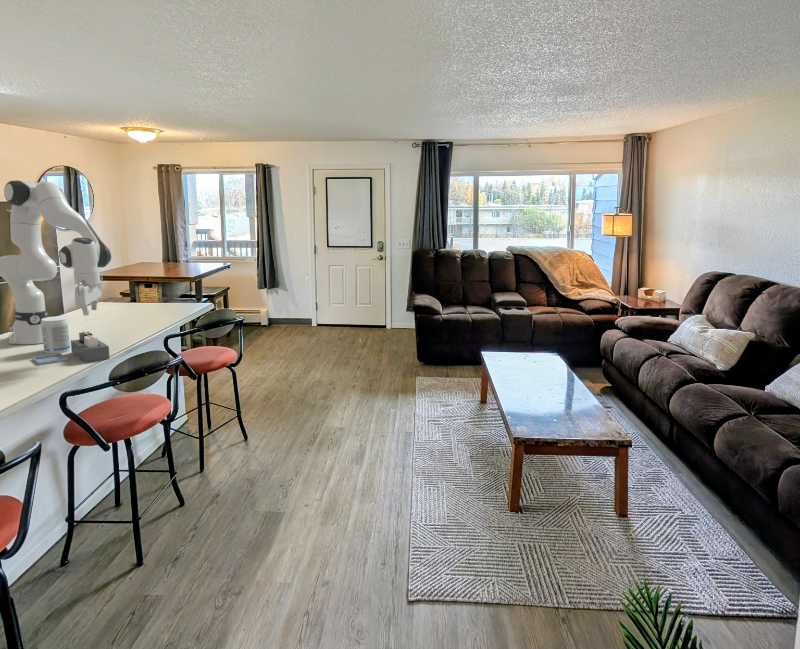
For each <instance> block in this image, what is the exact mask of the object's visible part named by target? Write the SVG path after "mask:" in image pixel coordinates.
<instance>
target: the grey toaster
mask: <svg viewBox="0 0 800 649" xmlns="http://www.w3.org/2000/svg"><path fill="white" fill-rule="evenodd" d="M88 335H91V336H93V333H92V332H90V331H82V332H78V336H79V339H74V340H73V339H72V340H70V350H71V354H72V355H74V356H76V357H77V358H78V359H79V360H81V361H82V362H84V363H92V362H94V363H95V362H100V361H105V360H110V346H109V345H107V344H105V343H104V342H103V341H101V340H99V339H98V347H91V348H88V347H86V346H85V344H84V337H85V336H88Z"/></svg>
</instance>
